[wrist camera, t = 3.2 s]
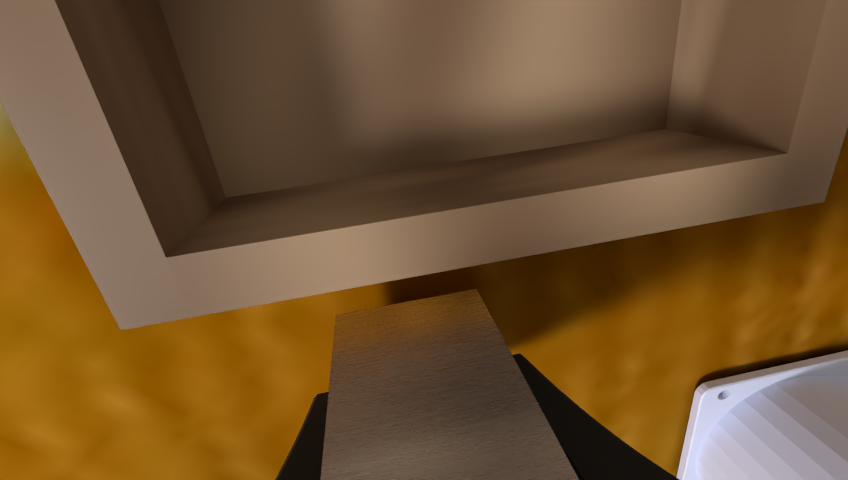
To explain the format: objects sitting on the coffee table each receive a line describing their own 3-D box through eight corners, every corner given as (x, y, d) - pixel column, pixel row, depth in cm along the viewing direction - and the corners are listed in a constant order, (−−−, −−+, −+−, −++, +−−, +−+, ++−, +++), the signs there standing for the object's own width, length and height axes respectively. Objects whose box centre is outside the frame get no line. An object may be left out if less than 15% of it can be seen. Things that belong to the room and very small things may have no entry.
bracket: (476, 288, 11) (635, 586, 5) (485, 394, 13) (612, 722, 6) (335, 314, 11) (301, 672, 4) (362, 419, 13) (366, 795, 6)
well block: (744, -218, 9) (1016, -417, 5) (686, 162, 12) (824, 201, 9) (39, -168, 7) (-261, -391, 4) (198, 243, 11) (120, 330, 7)
